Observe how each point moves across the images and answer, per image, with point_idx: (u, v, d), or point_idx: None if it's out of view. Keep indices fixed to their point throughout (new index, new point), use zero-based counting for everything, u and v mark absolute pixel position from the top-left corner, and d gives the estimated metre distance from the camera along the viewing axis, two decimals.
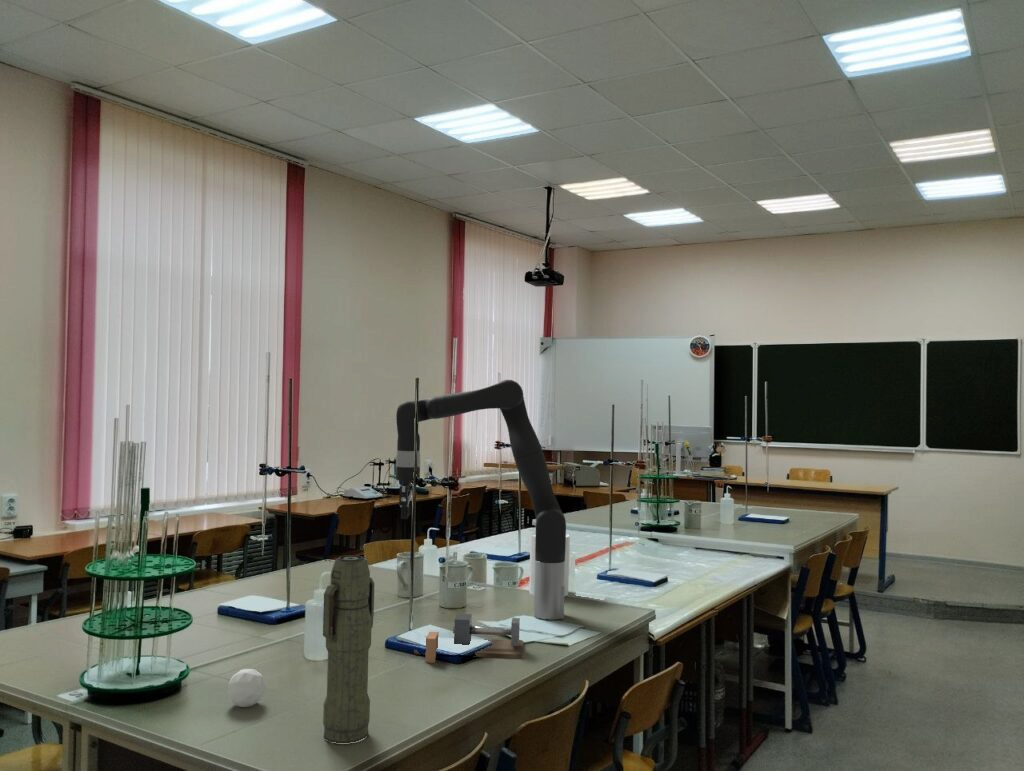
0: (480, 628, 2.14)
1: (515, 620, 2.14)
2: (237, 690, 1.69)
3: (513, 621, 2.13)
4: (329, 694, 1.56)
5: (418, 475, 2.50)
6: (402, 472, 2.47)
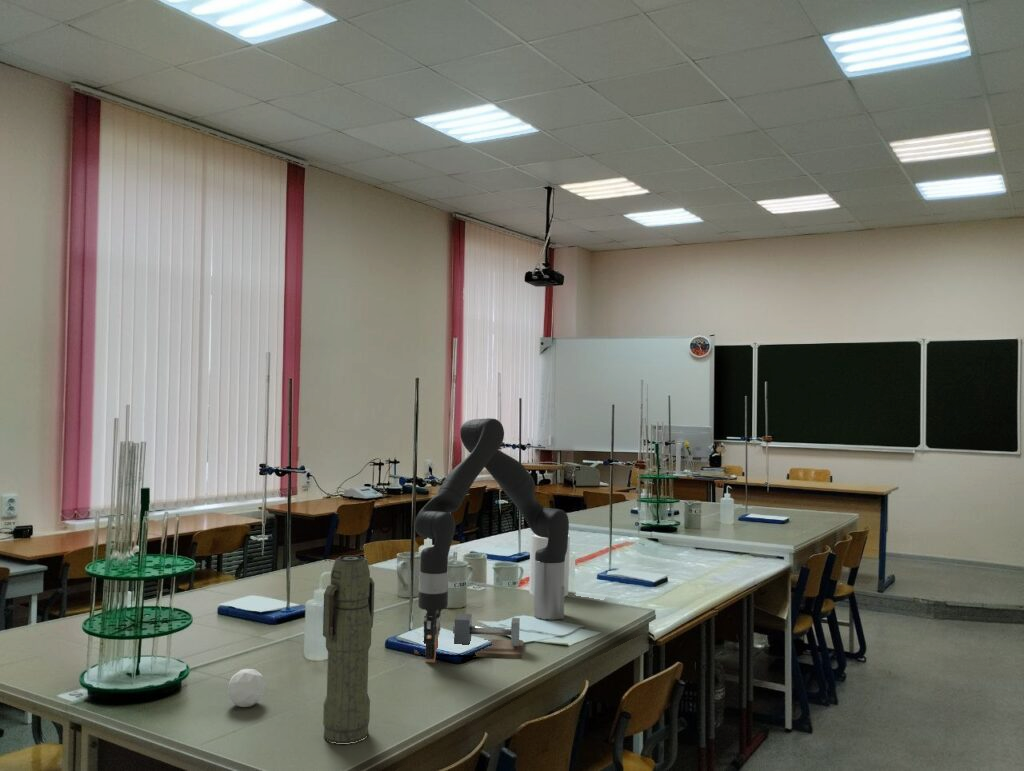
0: (480, 628, 2.14)
1: (515, 620, 2.14)
2: (237, 690, 1.69)
3: (513, 621, 2.13)
4: (329, 694, 1.56)
5: (446, 602, 2.05)
6: (427, 600, 2.03)
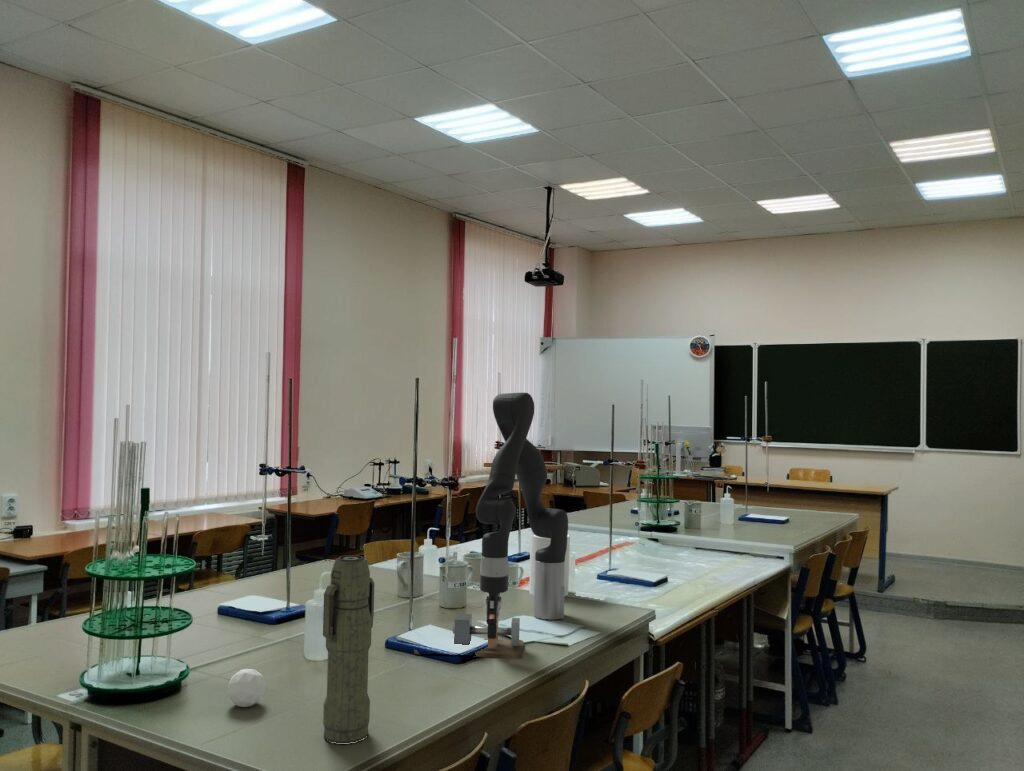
0: (480, 628, 2.14)
1: (515, 620, 2.14)
2: (237, 690, 1.69)
3: (513, 621, 2.13)
4: (329, 694, 1.56)
5: (507, 585, 2.13)
6: (489, 583, 2.11)
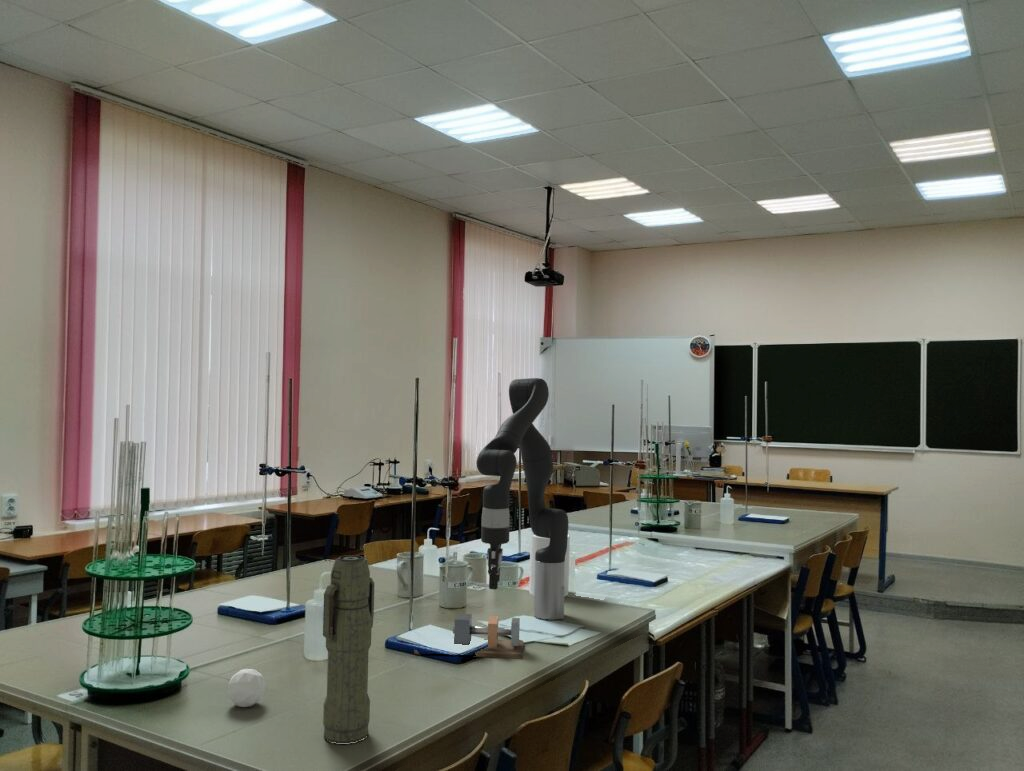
0: (480, 628, 2.14)
1: (515, 620, 2.14)
2: (237, 690, 1.69)
3: (513, 621, 2.13)
4: (329, 694, 1.56)
5: (508, 536, 2.13)
6: (490, 534, 2.11)
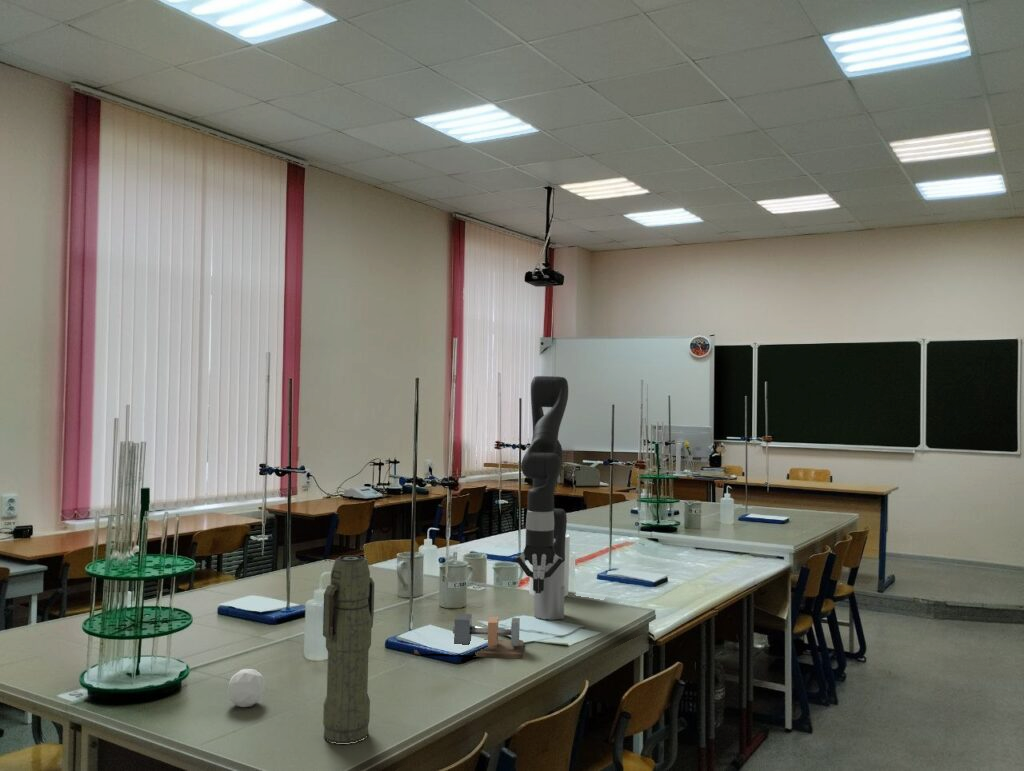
0: (480, 628, 2.14)
1: (515, 620, 2.14)
2: (237, 690, 1.69)
3: (513, 621, 2.13)
4: (329, 694, 1.56)
5: (535, 541, 2.11)
6: None
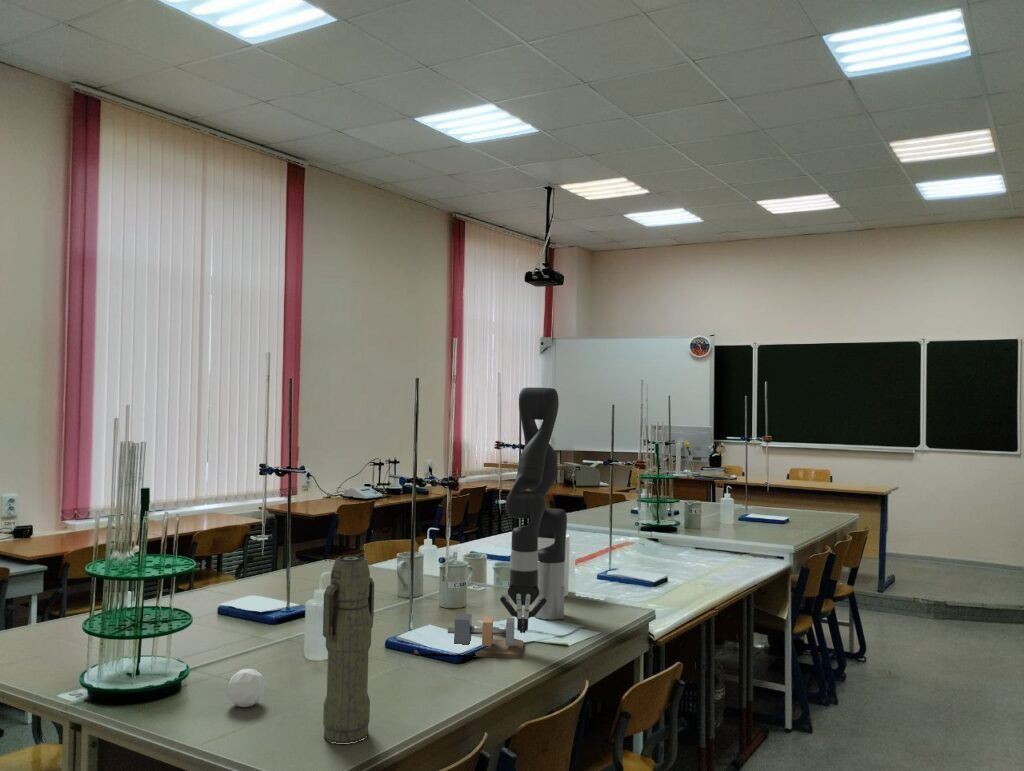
0: (475, 628, 2.14)
1: (510, 619, 2.14)
2: (237, 690, 1.69)
3: (508, 621, 2.13)
4: (329, 694, 1.56)
5: (519, 581, 2.10)
6: None
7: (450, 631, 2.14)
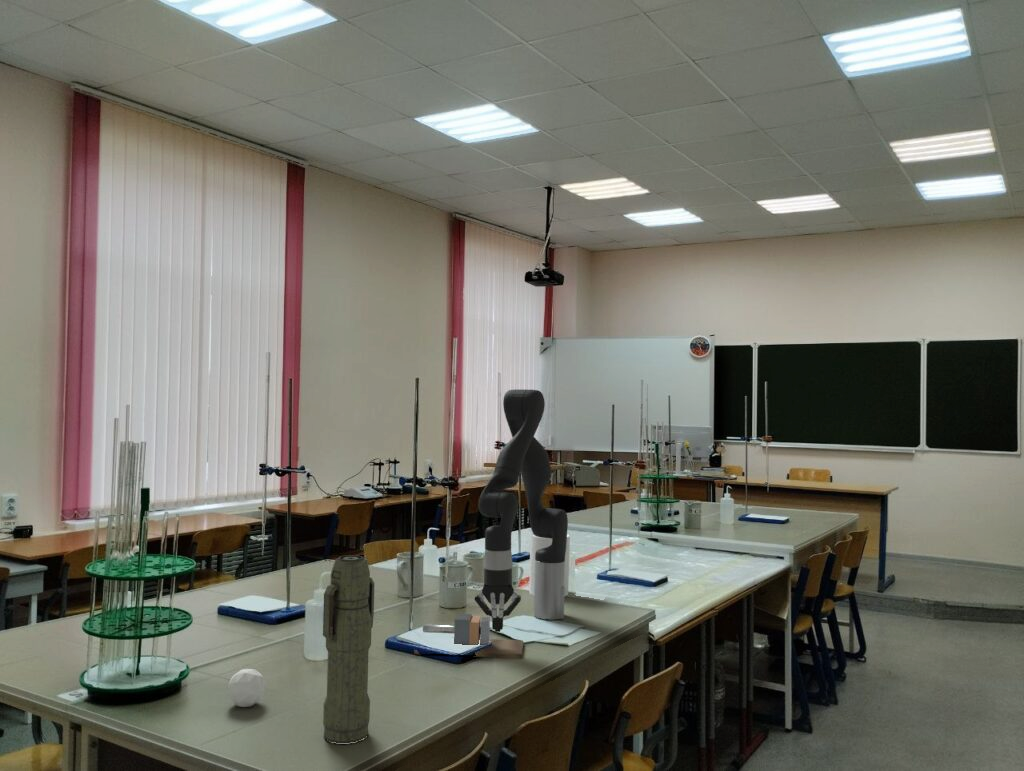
0: (450, 627, 2.14)
1: (485, 618, 2.15)
2: (237, 690, 1.69)
3: (483, 620, 2.13)
4: (329, 694, 1.56)
5: (492, 580, 2.11)
6: None
7: (425, 630, 2.14)
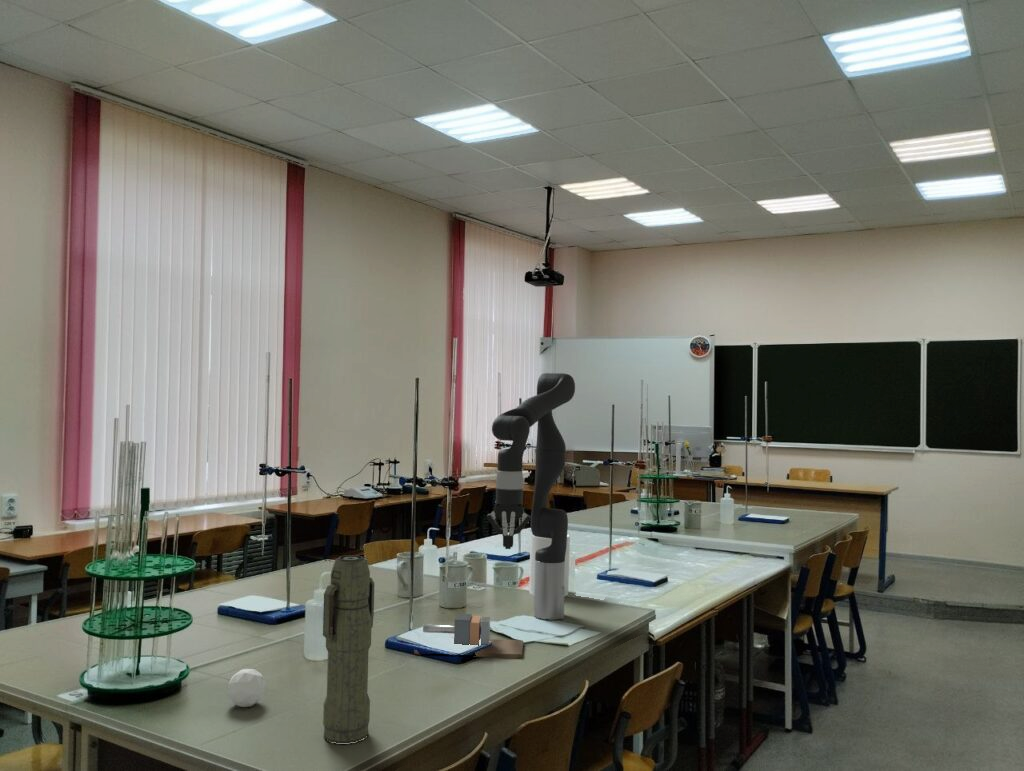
0: (450, 627, 2.14)
1: (485, 618, 2.15)
2: (237, 690, 1.69)
3: (483, 620, 2.13)
4: (329, 694, 1.56)
5: (504, 499, 2.22)
6: None
7: (425, 630, 2.14)
